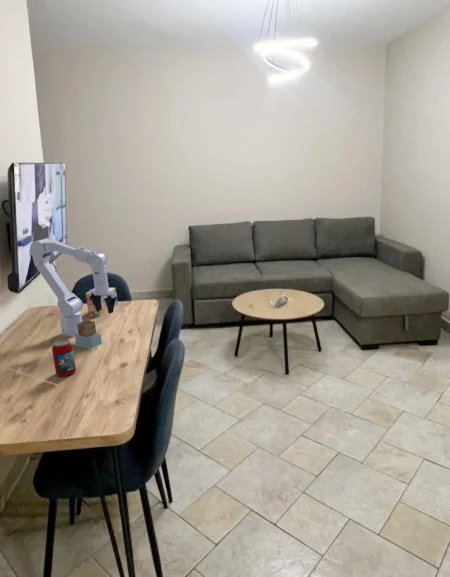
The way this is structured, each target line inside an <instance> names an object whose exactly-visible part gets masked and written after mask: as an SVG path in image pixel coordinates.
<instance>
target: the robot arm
mask: <svg viewBox="0 0 450 577" xmlns="http://www.w3.org/2000/svg"><path fill="white" fill-rule="evenodd" d="M54 252H57V253H61V254H64V255H67V256H72V257H73V259H74V261H78V262H80V263H84V264H87V265H89V267H90V268H91V272H92V278H93V284H94V285H93V286H94V288H95V289H94V288H92V289H89V290H88V292H89V293H90V295H91V296H89V298H90V299H91V301H92V302H93V304H94V306H95V309H96V311H100V310H101V296H107V297H108V298H104V301H105V302H106V305H107V309H108V311H107V312H108V314H113V313H114V309H115V306H114V304H115V301H116V299H117V300H118V295H117V296H116V294H117V291H116V292H112V291H110V290H109V288H110V287H109V281H108V280H109V279H108V272H107V265H106V264H107V263H108V257H107V255H106V254H105V253H104V252H102V251H99V252H98V251H97V252H96V251H95V250H89V249H86V247H84V246H81V247H80V246H79V247H77V248H75V247H72V246H70V245H67V244H65V243H63V242H60V241H58V240H56V239H54V238H50V237H45V238H43V239H40V240H35V241H32V242H31V243H30V246H29V253H30V255H31V256H32V260H33V264H34V267H36V269H37V271H38V272H39V273H40V275H41V276H42V277H43V279H44V280H45V282H46V284H47V285H48V286H49V288H50V289H51V290H52V292H53V293H54V295H55V297H56V298H57V306H58V309H59V313H61V316H60V319H59V321H60V322H59V323H60V328H61V333H60V335H63V336H67V337H73V338H75V334H77V333H78V327H77V324H78V323H81V322H83V318H82V317H83V316H82V309H83V307H84V303H83V301H82V300H81V299H80V298H79V297H77V295H76V294H75V293H73V292H71V291H69V289H68V287H67V286H66V285H65V283H64V282H63V280H62V279H61V278H60V275H58V273H57V271H56V270H55V269H54V267H53V266H52V264H51V263H50V258H51V256H52V254H53V253H54Z"/></svg>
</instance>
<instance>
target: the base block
mask: <svg viewBox="0 0 450 577" xmlns="http://www.w3.org/2000/svg"><path fill="white" fill-rule="evenodd" d="M74 338H75V342H76V343H77V344H81V345H85V346H89V347H94V346H97V345H99V344H101V343H102V335H101V333H97V332H96V334H93V335H91V336H88V337H84V336H80V335H79V334H78V333H77V334H75V337H74ZM99 346H100V345H99ZM97 347H98V346H97Z"/></svg>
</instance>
